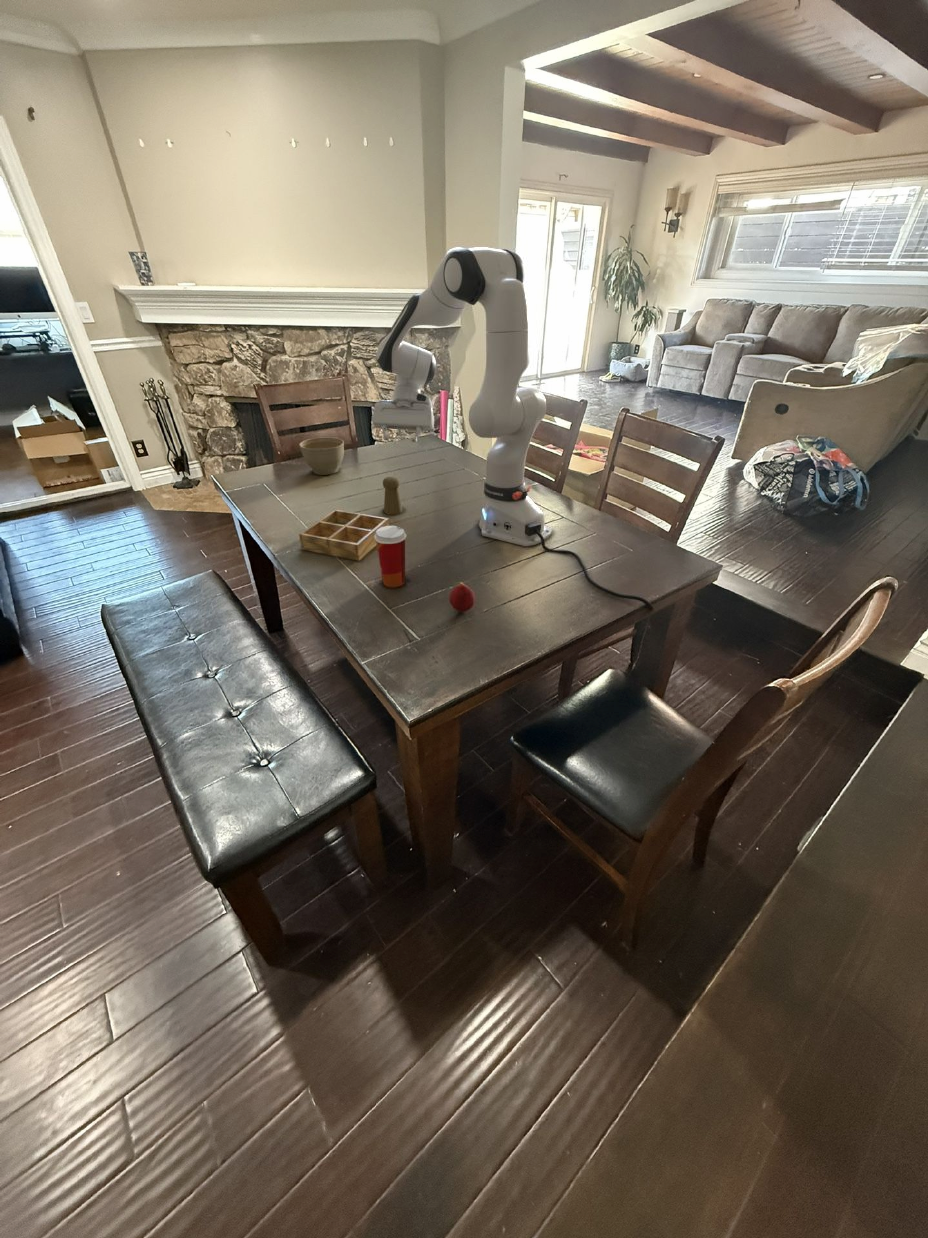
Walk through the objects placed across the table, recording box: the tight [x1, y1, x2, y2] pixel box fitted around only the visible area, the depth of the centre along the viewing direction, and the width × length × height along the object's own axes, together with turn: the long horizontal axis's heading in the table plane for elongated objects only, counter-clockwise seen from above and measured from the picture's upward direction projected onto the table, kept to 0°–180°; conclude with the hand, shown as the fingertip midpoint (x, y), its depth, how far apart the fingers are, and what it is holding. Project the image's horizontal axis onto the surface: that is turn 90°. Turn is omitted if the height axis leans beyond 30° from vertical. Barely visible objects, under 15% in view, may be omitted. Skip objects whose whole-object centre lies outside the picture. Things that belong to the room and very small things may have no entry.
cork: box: [382, 476, 403, 515], centre depth 164 cm, size 6×6×11 cm
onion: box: [449, 581, 476, 614], centre depth 117 cm, size 6×6×8 cm
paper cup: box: [374, 525, 407, 588], centre depth 126 cm, size 8×8×14 cm
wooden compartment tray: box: [298, 509, 390, 562], centre depth 148 cm, size 18×18×5 cm
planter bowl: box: [299, 436, 345, 476], centre depth 194 cm, size 16×16×11 cm
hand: (399, 440), depth 166 cm, fingers open, 8 cm apart
